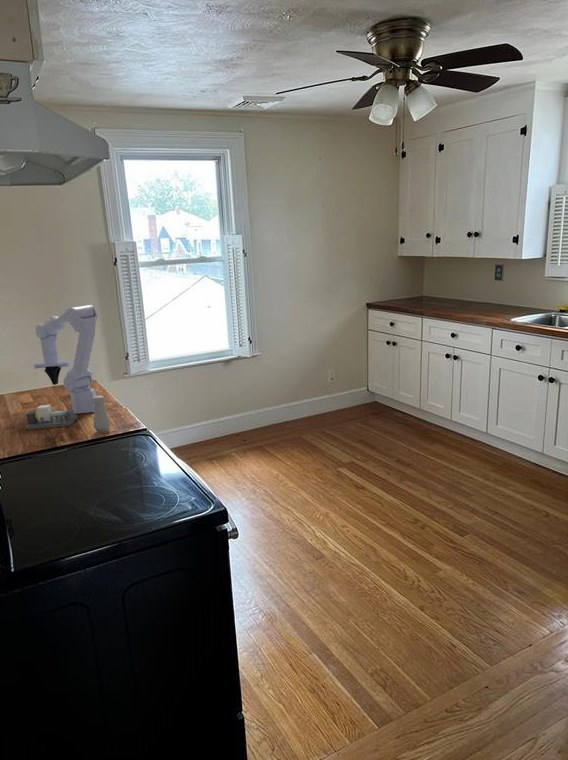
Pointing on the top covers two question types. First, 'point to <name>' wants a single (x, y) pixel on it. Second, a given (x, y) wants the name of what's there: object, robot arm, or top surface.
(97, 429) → the salt shaker
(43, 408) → the sleeve
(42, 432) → the top surface
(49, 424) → the rod slider bracket
